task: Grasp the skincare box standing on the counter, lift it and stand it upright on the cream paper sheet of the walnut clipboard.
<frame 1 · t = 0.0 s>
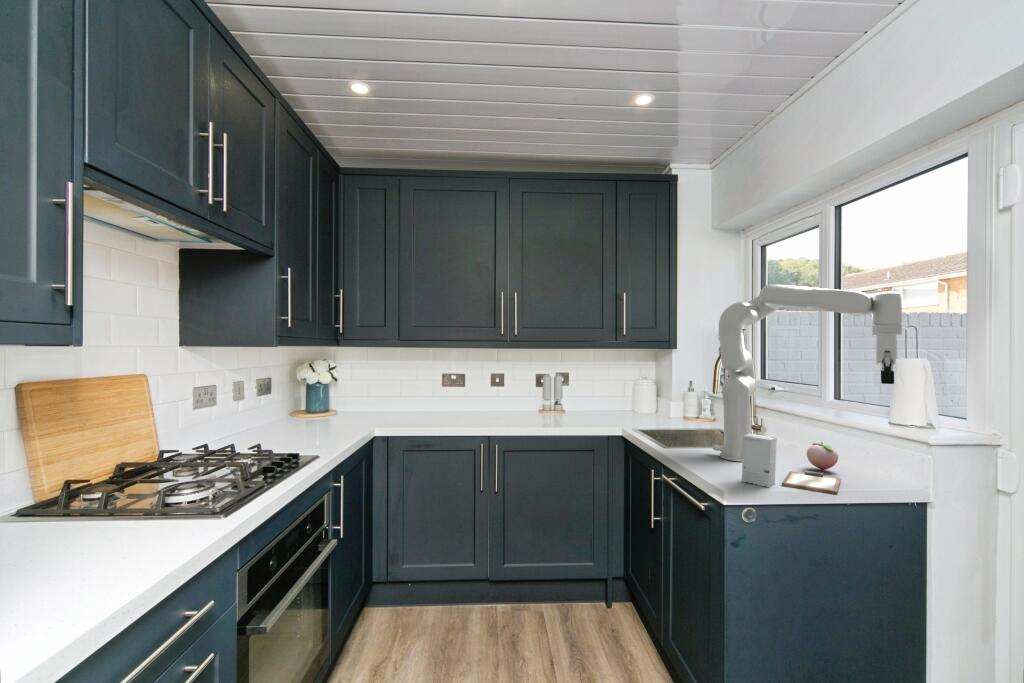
hand: (887, 382, 151), 31 cm above the table, tool pointing down, fingers open, 9 cm apart
clipboard: (811, 483, 146), on the table
decorative fruit: (821, 471, 161), on the table
skincare box: (759, 483, 146), on the table
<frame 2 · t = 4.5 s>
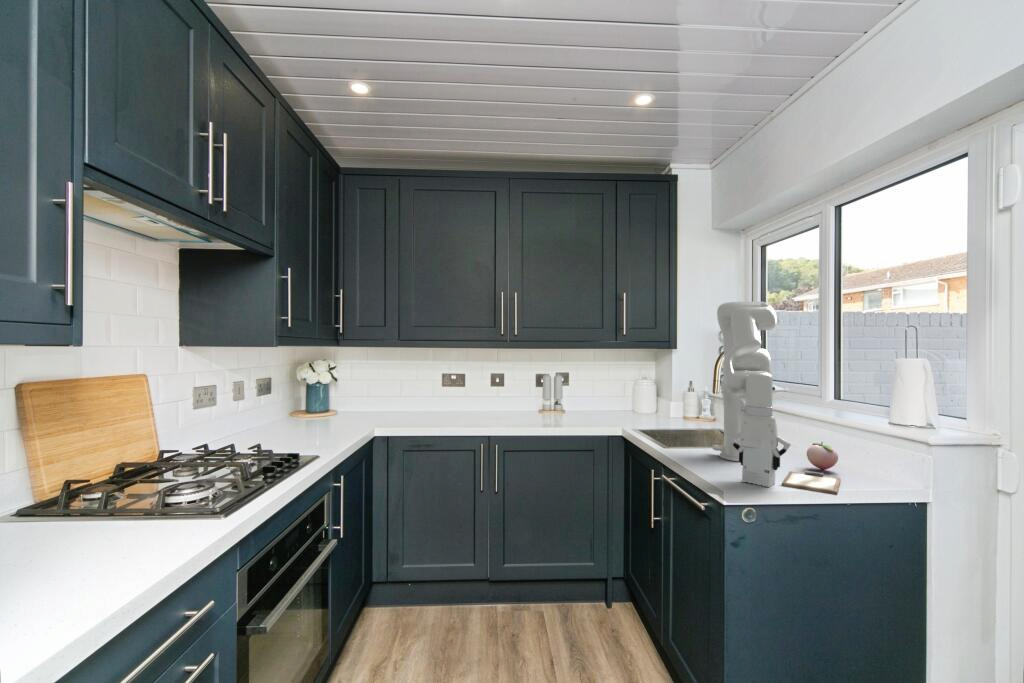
hand: (759, 466, 146), 5 cm above the table, tool pointing down, fingers closed on skincare box, 8 cm apart
skincare box: (759, 483, 146), on the table, touching gripper
everything else where it was.
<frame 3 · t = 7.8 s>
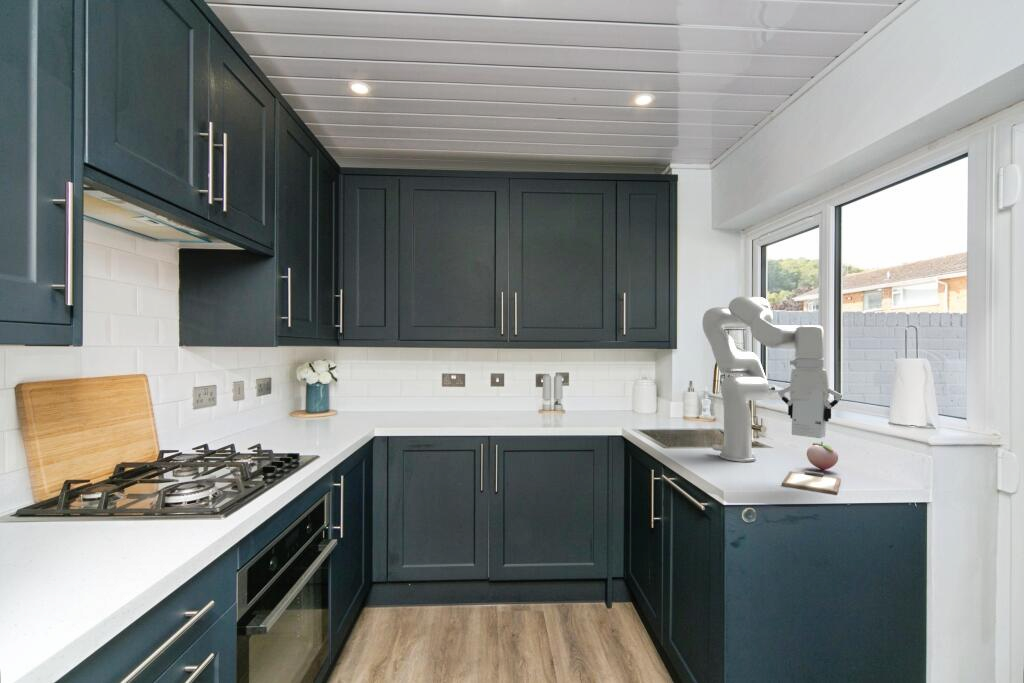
hand: (809, 419, 146), 20 cm above the table, tool pointing down, fingers closed on skincare box, 8 cm apart
skincare box: (809, 436, 146), point 15 cm above the table, touching gripper
everything else where it was.
when the fingers open (7 cm above the table, at t = 11.0 s): skincare box drops 1 cm, resting on clipboard.
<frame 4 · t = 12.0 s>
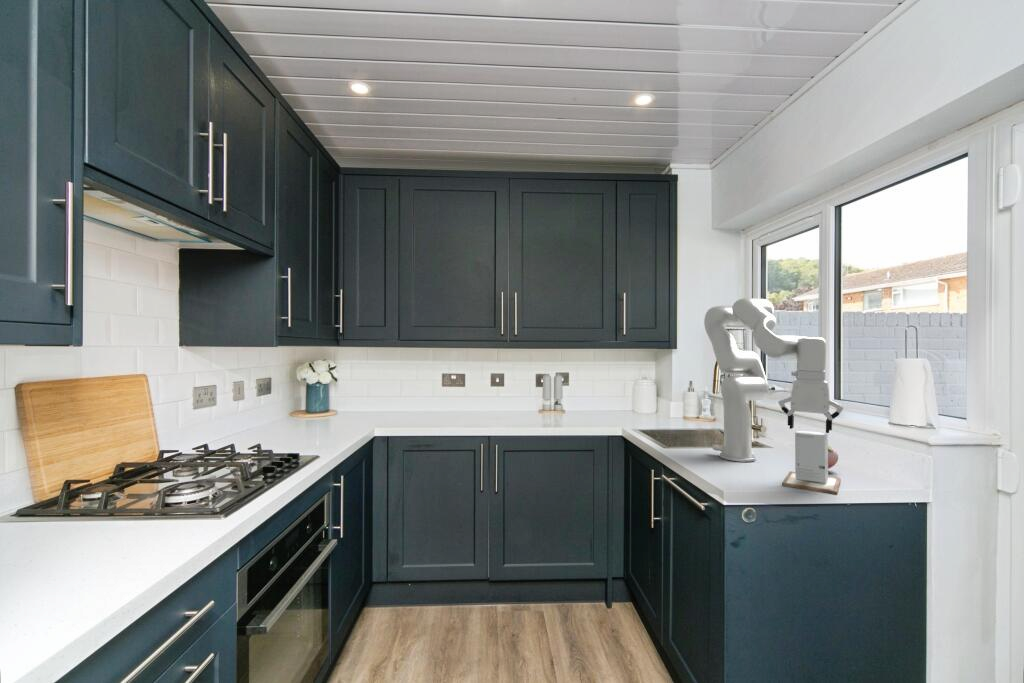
hand: (809, 430, 147), 17 cm above the table, tool pointing down, fingers open, 9 cm apart
skincare box: (812, 480, 146), point 1 cm above the table, touching clipboard
everything else where it was.
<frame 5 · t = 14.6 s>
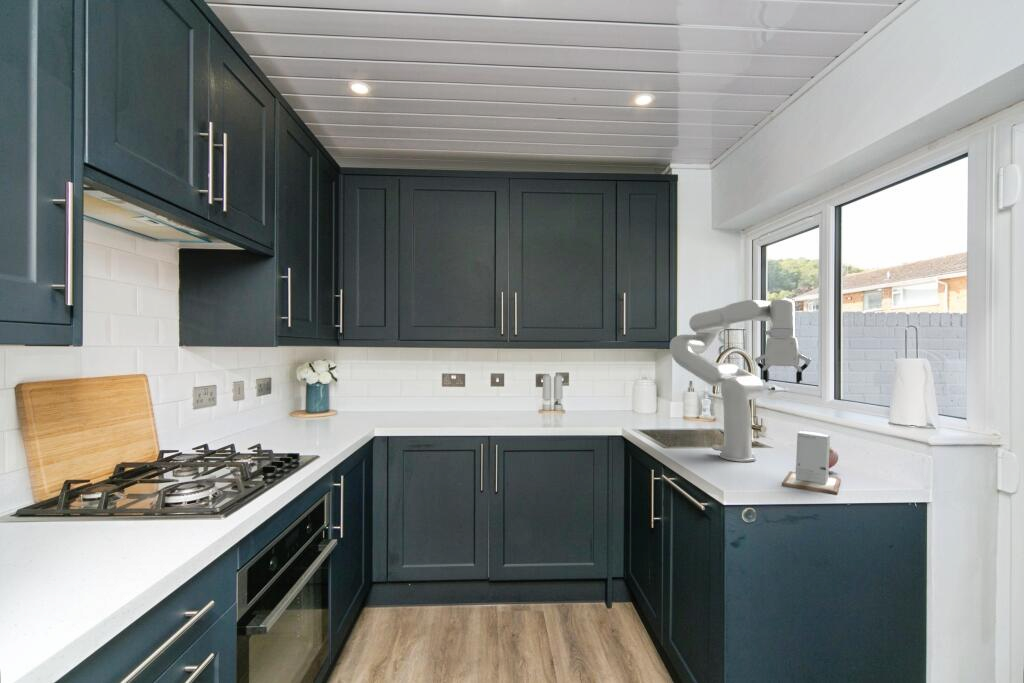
hand: (782, 382, 164), 30 cm above the table, tool pointing down, fingers open, 9 cm apart
nothing on the table moved.
at the end: skincare box inside the target area on the clipboard (0.9 cm from its centre), point 0.7 cm above the clipboard's base; skincare box tilted 0°; the gripper is holding nothing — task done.
